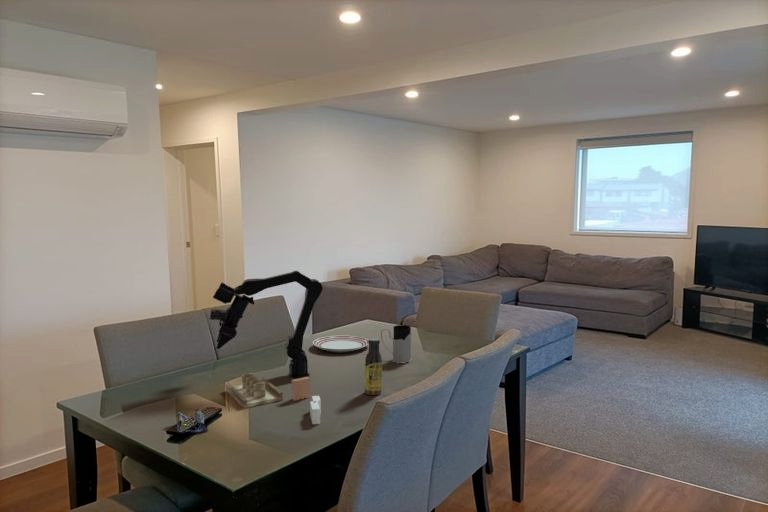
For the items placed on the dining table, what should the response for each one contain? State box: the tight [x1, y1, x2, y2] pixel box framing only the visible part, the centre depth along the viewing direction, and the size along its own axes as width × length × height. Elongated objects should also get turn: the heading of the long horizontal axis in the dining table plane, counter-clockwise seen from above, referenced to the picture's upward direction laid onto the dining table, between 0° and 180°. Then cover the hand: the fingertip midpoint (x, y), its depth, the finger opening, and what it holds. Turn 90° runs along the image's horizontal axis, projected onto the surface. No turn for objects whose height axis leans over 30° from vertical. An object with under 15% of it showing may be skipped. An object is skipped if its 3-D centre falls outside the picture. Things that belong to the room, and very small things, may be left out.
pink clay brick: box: [291, 376, 311, 402], centre depth 186 cm, size 6×2×7 cm, turn 123°
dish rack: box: [225, 372, 284, 409], centre depth 189 cm, size 14×20×6 cm
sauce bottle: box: [363, 337, 383, 396], centre depth 191 cm, size 7×6×20 cm
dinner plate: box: [312, 334, 369, 353], centre depth 253 cm, size 27×27×3 cm
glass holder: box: [380, 324, 413, 362], centre depth 231 cm, size 9×14×15 cm, turn 71°
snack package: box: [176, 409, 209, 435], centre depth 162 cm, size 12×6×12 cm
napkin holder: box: [309, 395, 322, 425], centre depth 171 cm, size 15×11×6 cm
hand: (217, 345), depth 203 cm, fingers open, 9 cm apart
